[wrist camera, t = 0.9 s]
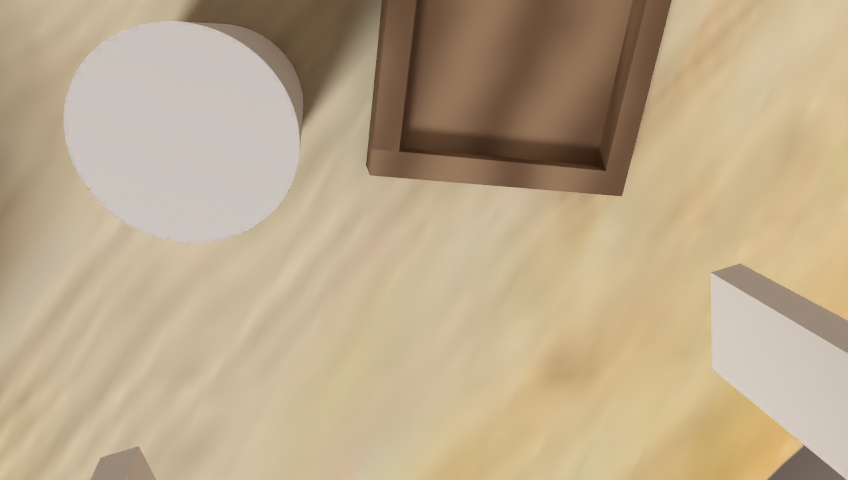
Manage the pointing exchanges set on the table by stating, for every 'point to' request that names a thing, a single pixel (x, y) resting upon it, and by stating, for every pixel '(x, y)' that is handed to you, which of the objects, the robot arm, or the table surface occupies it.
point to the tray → (513, 91)
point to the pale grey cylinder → (186, 128)
